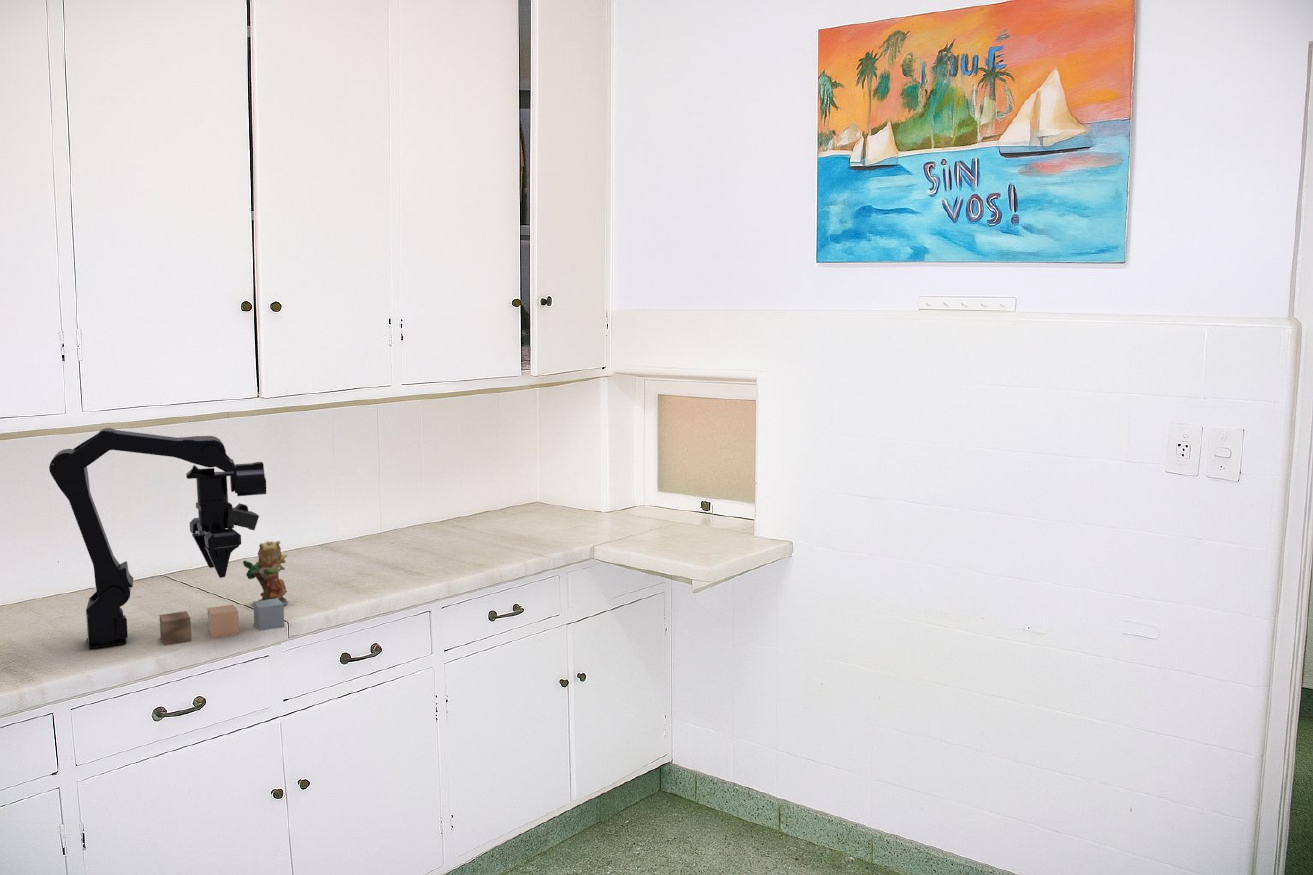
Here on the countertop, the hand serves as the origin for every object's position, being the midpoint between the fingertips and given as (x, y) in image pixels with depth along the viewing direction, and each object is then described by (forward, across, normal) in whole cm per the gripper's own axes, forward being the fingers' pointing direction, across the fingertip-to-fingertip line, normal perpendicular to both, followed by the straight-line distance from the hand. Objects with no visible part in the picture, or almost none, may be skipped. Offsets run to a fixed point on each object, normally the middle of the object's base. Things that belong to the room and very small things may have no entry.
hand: (217, 572), depth 211 cm
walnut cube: (+12, -2, +9) cm, 15 cm away
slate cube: (+12, -3, -9) cm, 16 cm away
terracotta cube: (+12, -2, 0) cm, 13 cm away
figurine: (+13, +12, -13) cm, 22 cm away
